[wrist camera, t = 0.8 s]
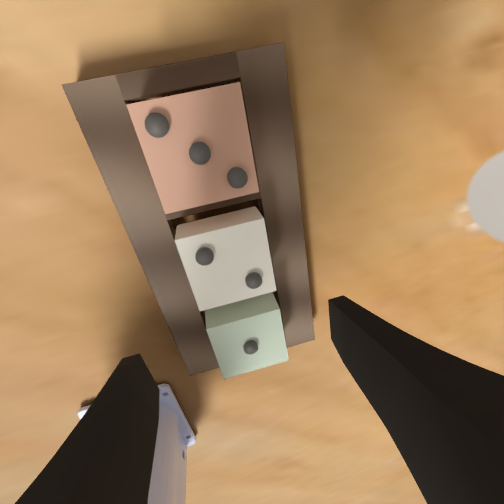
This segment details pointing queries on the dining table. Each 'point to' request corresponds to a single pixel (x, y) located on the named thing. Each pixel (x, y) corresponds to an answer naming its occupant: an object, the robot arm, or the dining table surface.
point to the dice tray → (161, 226)
